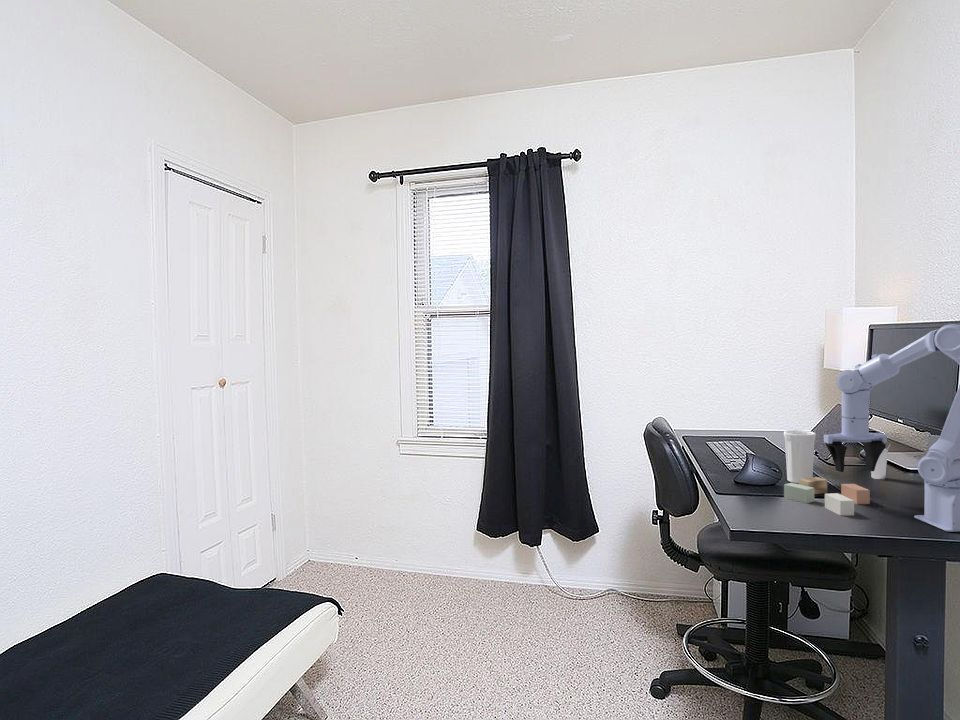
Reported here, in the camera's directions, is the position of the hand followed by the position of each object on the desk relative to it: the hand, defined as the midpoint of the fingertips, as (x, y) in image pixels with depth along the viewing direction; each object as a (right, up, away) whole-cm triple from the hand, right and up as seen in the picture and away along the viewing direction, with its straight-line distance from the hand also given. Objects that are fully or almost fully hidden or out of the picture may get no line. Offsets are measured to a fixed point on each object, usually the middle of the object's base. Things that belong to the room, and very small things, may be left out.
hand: (854, 470), depth 141 cm
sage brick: (-13, -8, +3) cm, 15 cm away
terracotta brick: (0, -8, 0) cm, 8 cm away
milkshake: (+21, -6, +20) cm, 29 cm away
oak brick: (-6, -8, +8) cm, 13 cm away
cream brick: (-9, -8, -8) cm, 14 cm away
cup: (-3, -7, +18) cm, 20 cm away
